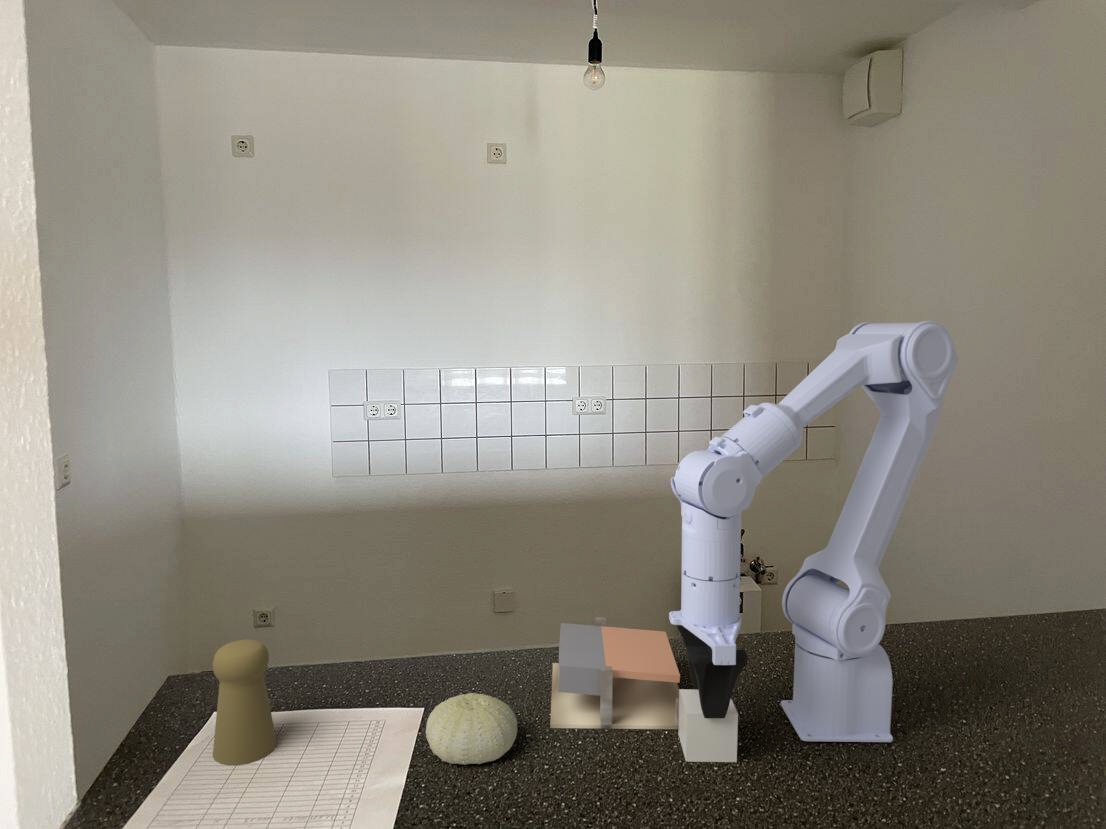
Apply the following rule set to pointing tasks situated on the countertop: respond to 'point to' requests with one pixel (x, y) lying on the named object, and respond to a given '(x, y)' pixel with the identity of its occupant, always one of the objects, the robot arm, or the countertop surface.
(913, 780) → the countertop surface
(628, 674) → the trapdoor
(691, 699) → the off-white sharp-edged cube
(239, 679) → the cork
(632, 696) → the frame
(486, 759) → the sea urchin shell
